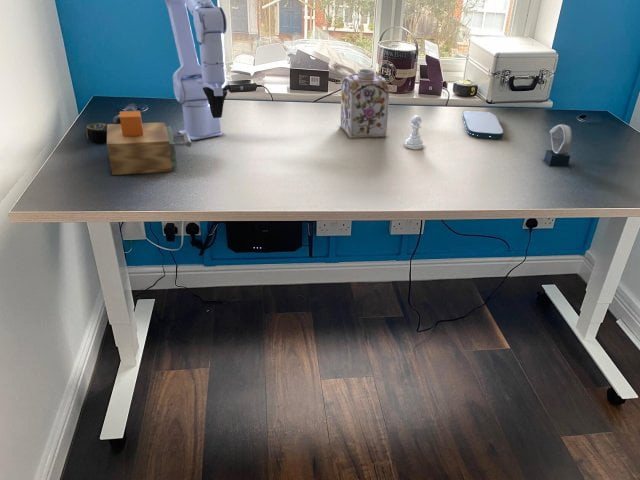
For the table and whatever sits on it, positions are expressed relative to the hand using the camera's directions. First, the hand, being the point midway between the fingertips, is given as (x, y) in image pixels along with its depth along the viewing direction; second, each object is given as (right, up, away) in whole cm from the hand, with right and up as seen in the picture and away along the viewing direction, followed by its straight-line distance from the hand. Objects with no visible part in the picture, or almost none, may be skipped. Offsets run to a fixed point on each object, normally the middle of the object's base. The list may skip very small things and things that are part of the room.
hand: (216, 117), depth 154 cm
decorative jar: (+36, +4, +30) cm, 47 cm away
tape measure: (-33, -4, +8) cm, 34 cm away
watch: (+92, -8, +19) cm, 95 cm away
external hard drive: (+75, +9, +43) cm, 87 cm away
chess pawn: (+52, -3, +22) cm, 56 cm away
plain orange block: (-18, -6, -8) cm, 21 cm away
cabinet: (-18, -12, -3) cm, 22 cm away
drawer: (-14, -11, -3) cm, 18 cm away
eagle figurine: (-30, +1, +16) cm, 34 cm away
